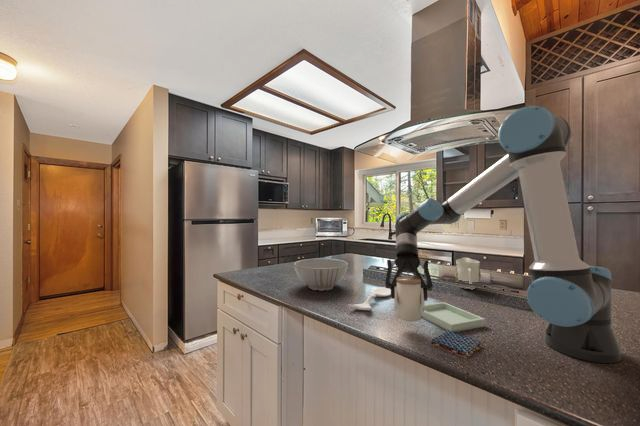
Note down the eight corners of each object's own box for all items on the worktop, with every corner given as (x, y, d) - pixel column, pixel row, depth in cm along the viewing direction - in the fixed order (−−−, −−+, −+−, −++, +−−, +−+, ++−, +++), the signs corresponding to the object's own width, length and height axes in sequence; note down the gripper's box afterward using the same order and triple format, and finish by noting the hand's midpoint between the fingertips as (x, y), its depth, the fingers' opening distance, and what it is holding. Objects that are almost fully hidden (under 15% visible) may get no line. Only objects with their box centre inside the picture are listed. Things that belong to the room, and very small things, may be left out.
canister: (426, 319, 87) (426, 280, 87) (406, 322, 84) (406, 282, 84) (411, 311, 94) (410, 275, 94) (392, 314, 91) (391, 277, 91)
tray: (485, 326, 92) (485, 318, 92) (451, 332, 87) (451, 324, 87) (443, 308, 108) (443, 301, 108) (413, 313, 104) (413, 306, 104)
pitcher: (457, 293, 128) (457, 263, 128) (453, 283, 145) (453, 256, 145) (484, 295, 125) (484, 264, 125) (477, 285, 142) (477, 257, 141)
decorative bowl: (330, 299, 121) (330, 271, 121) (282, 289, 135) (282, 264, 135) (357, 285, 143) (357, 261, 143) (314, 278, 158) (313, 256, 158)
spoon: (346, 312, 105) (346, 303, 105) (376, 291, 133) (376, 284, 133) (369, 317, 101) (369, 307, 101) (394, 294, 128) (394, 286, 128)
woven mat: (428, 346, 80) (428, 338, 80) (446, 335, 86) (446, 329, 86) (465, 361, 72) (465, 353, 72) (483, 348, 78) (483, 341, 78)
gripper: (435, 255, 101) (443, 317, 85) (378, 254, 106) (376, 311, 91) (437, 242, 96) (446, 305, 80) (377, 241, 101) (375, 300, 86)
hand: (409, 308), depth 86 cm, fingers closed on canister, 7 cm apart
